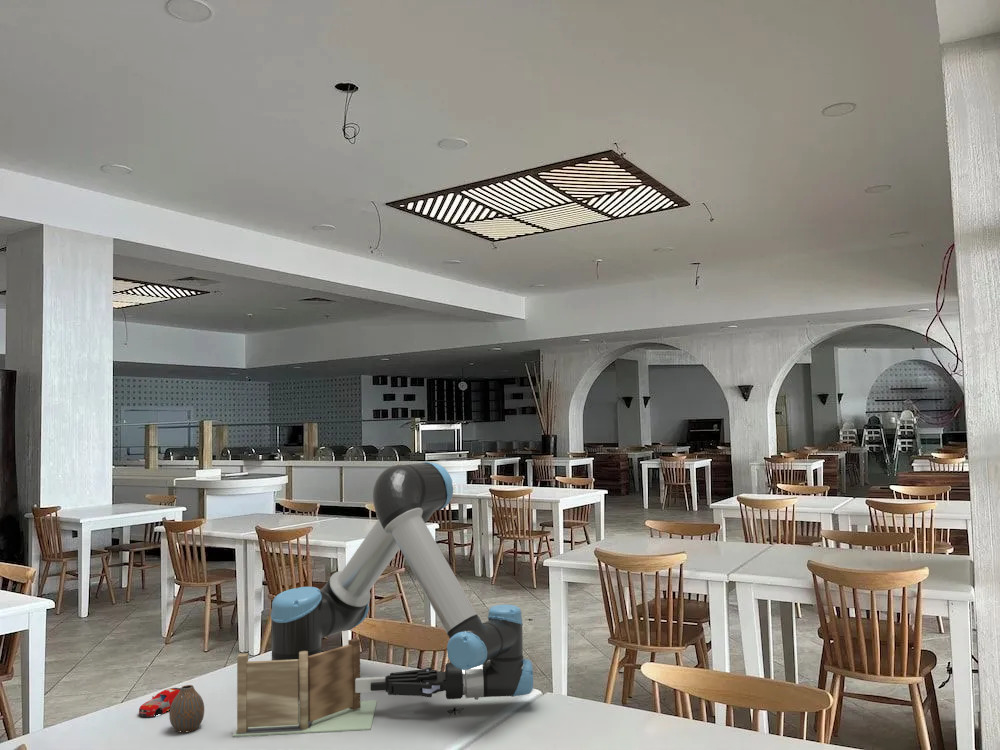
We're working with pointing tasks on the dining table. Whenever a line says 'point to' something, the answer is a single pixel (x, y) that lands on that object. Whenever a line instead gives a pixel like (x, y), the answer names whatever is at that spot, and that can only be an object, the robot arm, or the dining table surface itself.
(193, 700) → the vase
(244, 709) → the birch fence section
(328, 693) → the walnut panel
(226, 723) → the dining table surface
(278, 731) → the card
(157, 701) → the race car
